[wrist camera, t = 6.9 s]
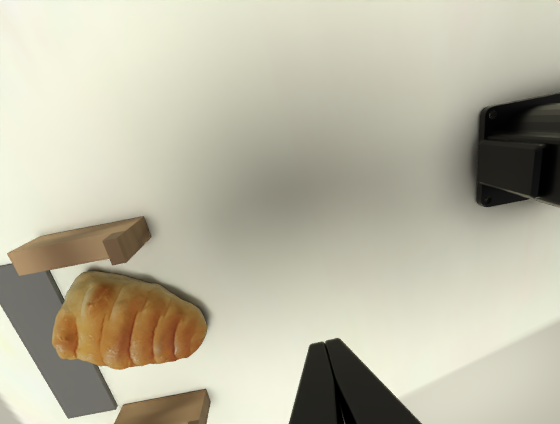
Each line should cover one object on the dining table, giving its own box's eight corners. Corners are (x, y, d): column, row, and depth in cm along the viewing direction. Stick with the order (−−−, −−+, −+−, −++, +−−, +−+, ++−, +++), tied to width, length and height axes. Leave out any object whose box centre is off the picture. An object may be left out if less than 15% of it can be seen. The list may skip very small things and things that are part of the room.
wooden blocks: (143, 216, 19) (116, 238, 15) (210, 402, 24) (201, 449, 20) (39, 236, 19) (-11, 262, 15) (129, 417, 24) (107, 467, 20)
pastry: (216, 285, 21) (206, 320, 17) (202, 356, 23) (190, 401, 19) (81, 261, 20) (40, 294, 16) (79, 338, 22) (42, 382, 18)
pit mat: (42, 257, 19) (39, 260, 19) (117, 406, 23) (115, 409, 23) (-16, 268, 19) (-20, 271, 19) (70, 414, 23) (68, 418, 23)
